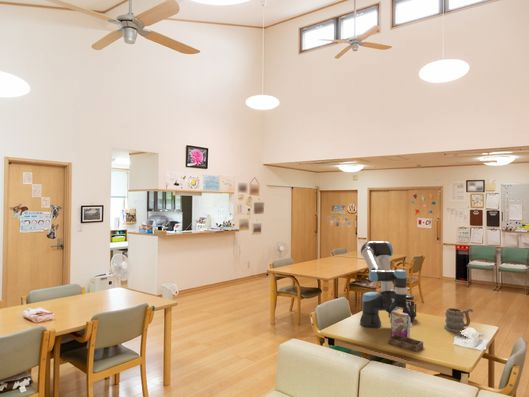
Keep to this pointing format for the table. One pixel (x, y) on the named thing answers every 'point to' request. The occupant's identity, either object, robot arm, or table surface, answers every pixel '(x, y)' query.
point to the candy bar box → (400, 324)
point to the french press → (410, 297)
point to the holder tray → (405, 343)
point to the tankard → (456, 319)
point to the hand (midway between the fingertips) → (400, 325)
